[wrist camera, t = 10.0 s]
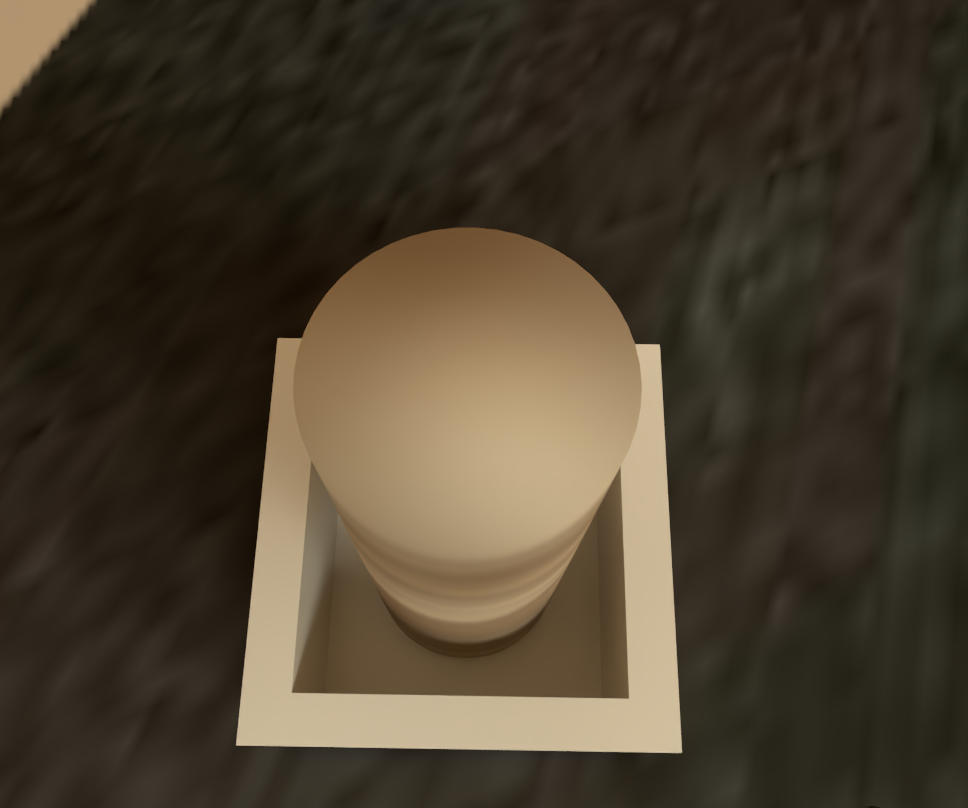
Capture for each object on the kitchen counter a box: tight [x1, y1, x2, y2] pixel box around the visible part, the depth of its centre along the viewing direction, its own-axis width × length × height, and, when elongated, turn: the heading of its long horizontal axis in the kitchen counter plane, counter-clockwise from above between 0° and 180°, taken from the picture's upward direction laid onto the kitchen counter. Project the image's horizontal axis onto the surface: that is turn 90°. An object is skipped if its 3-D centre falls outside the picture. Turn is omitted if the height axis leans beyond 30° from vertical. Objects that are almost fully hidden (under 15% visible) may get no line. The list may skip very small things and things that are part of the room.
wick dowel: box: [293, 228, 642, 658], centre depth 14 cm, size 4×4×10 cm
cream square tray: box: [236, 338, 682, 753], centre depth 18 cm, size 7×7×4 cm
